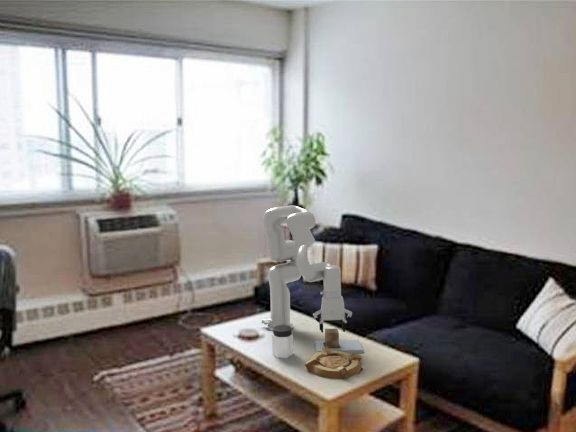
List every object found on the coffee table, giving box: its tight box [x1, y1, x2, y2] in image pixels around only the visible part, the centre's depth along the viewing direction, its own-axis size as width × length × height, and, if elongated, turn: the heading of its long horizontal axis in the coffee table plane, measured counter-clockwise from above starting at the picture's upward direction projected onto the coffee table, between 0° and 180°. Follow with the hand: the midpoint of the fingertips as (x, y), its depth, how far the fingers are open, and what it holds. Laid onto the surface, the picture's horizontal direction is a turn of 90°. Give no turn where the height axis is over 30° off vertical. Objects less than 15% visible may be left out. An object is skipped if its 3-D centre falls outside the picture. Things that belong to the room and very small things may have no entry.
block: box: [324, 328, 340, 348], centre depth 250 cm, size 6×6×8 cm
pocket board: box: [314, 338, 364, 354], centre depth 251 cm, size 20×12×2 cm, turn 92°
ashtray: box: [304, 346, 363, 380], centre depth 232 cm, size 24×24×5 cm
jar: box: [271, 325, 294, 359], centre depth 244 cm, size 9×8×12 cm
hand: (332, 331), depth 249 cm, fingers open, 9 cm apart
